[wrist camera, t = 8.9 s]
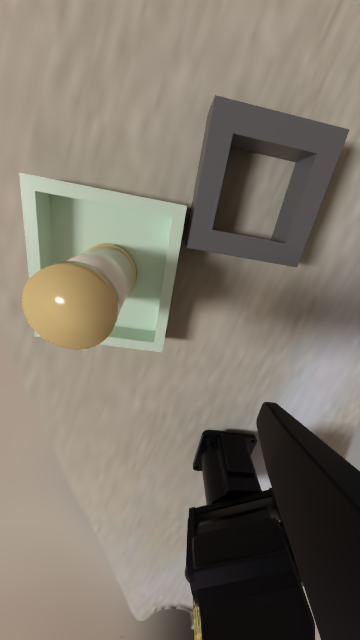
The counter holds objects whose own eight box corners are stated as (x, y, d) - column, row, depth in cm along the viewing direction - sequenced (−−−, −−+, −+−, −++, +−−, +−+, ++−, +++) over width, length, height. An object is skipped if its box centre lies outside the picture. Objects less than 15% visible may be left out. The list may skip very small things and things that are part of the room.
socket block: (281, 260, 19) (297, 267, 17) (185, 243, 18) (187, 247, 16) (323, 141, 16) (349, 129, 13) (208, 113, 15) (215, 95, 12)
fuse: (134, 300, 19) (113, 354, 12) (82, 292, 19) (26, 343, 11) (139, 248, 17) (119, 273, 10) (82, 238, 17) (16, 257, 10)
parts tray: (163, 337, 21) (162, 352, 19) (49, 322, 20) (34, 336, 18) (184, 206, 17) (187, 205, 15) (40, 178, 16) (19, 172, 13)
